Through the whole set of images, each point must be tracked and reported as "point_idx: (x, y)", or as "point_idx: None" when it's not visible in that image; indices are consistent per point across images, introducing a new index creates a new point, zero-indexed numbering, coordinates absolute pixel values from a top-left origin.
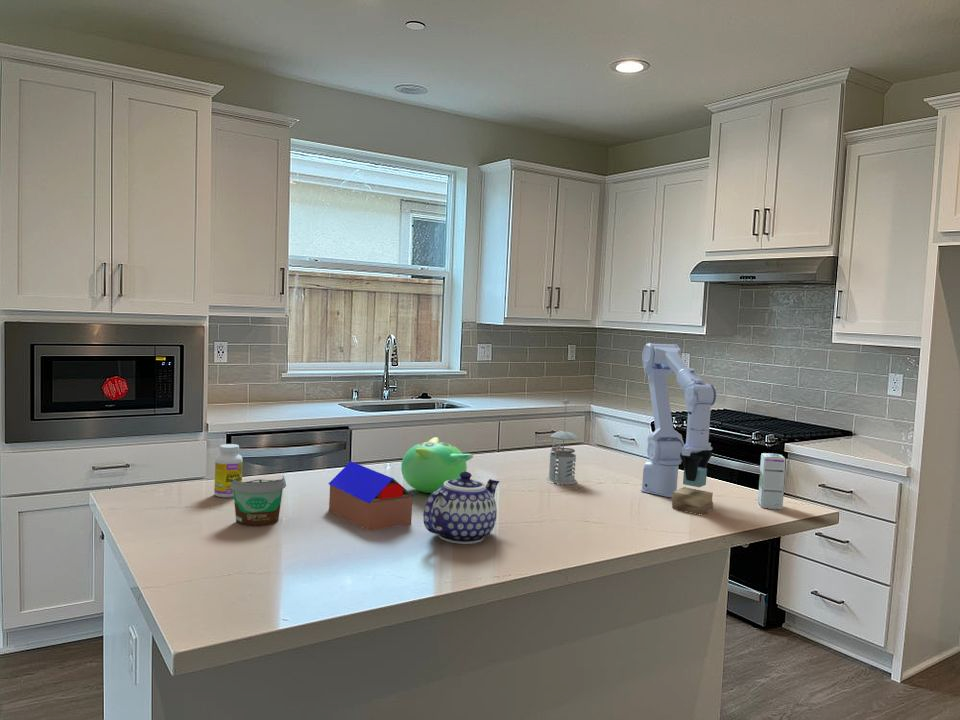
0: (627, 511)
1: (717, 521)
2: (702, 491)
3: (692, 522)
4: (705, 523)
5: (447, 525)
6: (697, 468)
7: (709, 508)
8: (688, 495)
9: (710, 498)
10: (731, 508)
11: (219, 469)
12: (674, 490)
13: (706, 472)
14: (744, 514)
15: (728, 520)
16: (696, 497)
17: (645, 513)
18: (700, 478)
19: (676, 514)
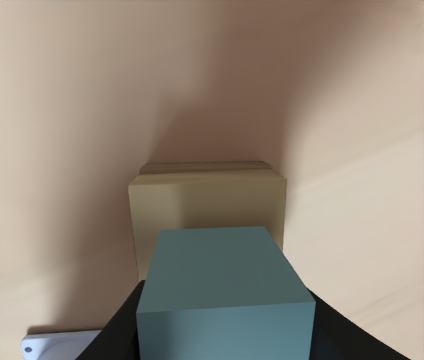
0: (388, 324)
1: (304, 78)
2: (151, 231)
3: (380, 141)
4: (362, 101)
5: None
6: (341, 338)
7: (177, 165)
8: (282, 240)
9: (160, 178)
10: (56, 113)
11: None
12: (78, 352)
13: (147, 282)
14: (103, 29)
15: (257, 49)
16: (283, 202)
17: (375, 285)
18: (270, 255)
19: (319, 221)
